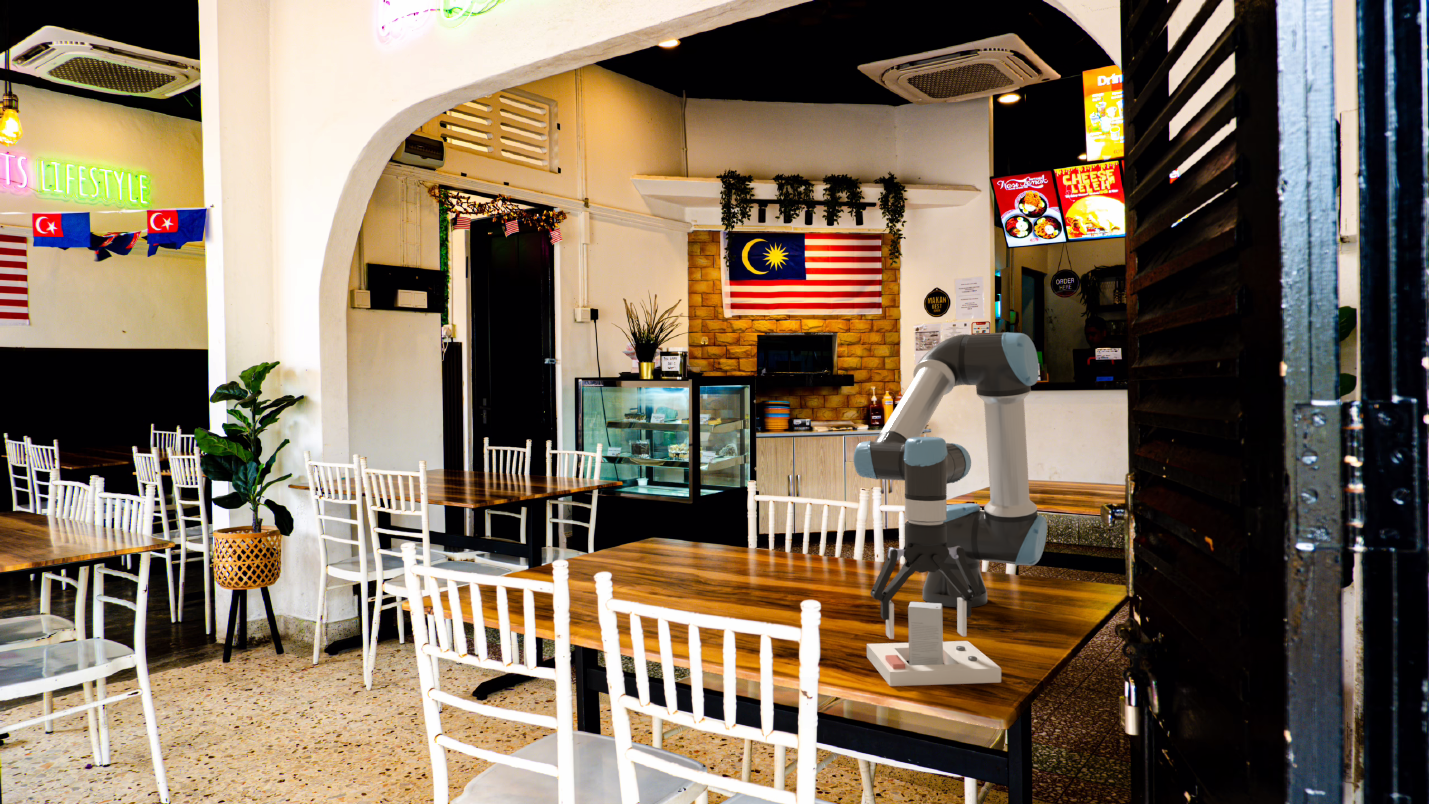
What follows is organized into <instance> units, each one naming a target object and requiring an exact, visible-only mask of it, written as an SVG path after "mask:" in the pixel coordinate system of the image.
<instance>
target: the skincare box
mask: <svg viewBox="0 0 1429 804" xmlns="http://www.w3.org/2000/svg"><path fill="white" fill-rule="evenodd" d="M907 614H908V615H907V618H908V643H909V661H908V664H909V665H940V664H944V663H943V642H944V639H943V638H944V637H943V636H944V635H943V634H944V633H943V632H944V631H943V626H944V625H943V606H942V604H941V603H929V602H926V601H925V602H920V601H909V605H908V607H907Z"/></svg>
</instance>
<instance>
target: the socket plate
mask: <svg viewBox="0 0 1429 804" xmlns="http://www.w3.org/2000/svg"><path fill="white" fill-rule="evenodd" d="M866 658H867V660H869V662H870V663H871V665H873V667H874V668H875V669H876V670H877V671H878V673H879V674H880V676H881V677H882V678H883V679H884V680H885V682H886V683H887V685H888V686H890V687H900V686H901V687H904V686H906V687H907V686H908V687H909V686H931V685H932V686H933V685H961V684H962V685H964V684H992V683H998V684H999V683H1002V668H1001V667H1000V666H999V665H998V664H997V663H996V662H994V661H993V660H992V659H991V658H989V657H988V656H986V654H984V653H983V652H982V651H980V649H978V648H977V647H976V646H974V645H973V644H972V643H971V642H969V641H968V640H955V641H943V664H940V665H909V642H890V643H889V642H887V643H886V642H885V643H883V642H882V643H866ZM907 661H908V662H907Z"/></svg>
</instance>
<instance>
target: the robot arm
mask: <svg viewBox="0 0 1429 804" xmlns="http://www.w3.org/2000/svg"><path fill="white" fill-rule="evenodd" d="M1038 358H1039V357H1038V353H1037V349H1036V347H1035V344H1034V342H1033V341H1032V339H1031V338H1030V336H1029V335H1027V334H1025V333H1023V332H1022V333H1021V332H1009V331H1007V332H991V333H976V334H975V333H973V334H969V333H968V334H966V333H965V334H958V335H953V336H952V337H949V338H946V339H944V340H943V341H942V340H941V341H940V342H939V343H938V344H935V345H934V346H933V347H932V348H930V350H928V351H927V352H926V353H925V354H924V355H923V356H922V357H921V358H920V360H919V361H918V362H917V365H916V366H915V368H914V369H913V374H912V375H913V379H912V381H911V382H910V383H909V385H908V387H907V389H906V390H905V392H904V394H903V396H902V397H901V398H900V400H899V401H898V403H897V405H896V407H895V408H894V409H893V412H891V414H890V416H889V418H888V419H887V421H886V422H885V424H884V426H883V428H881V431H880V432H879V434H878V435H877V437H876V438H875V440H874V441H871V440H868V441H861V442H859V443H858V444H857V445H856V447H855V450H854V454H853V466H854V468H855V471H856V473H857V475H858V476H860V477H862V478H865V479H874V480H883V481H885V480H887V481H904V518H905V519H906V520H907V521H906V522H905V523H904V547H903V549H901V548H894V547H893V546H889V547H888V548H887V553H886V559H885V561H884V564H883V565H882V567H881V570H880V572H879V574H878V576H877V578H876V580H875V582H874V584H873V586H872V588H871V591H870V594H869V595H870V596H871V597H872V598H873V599H874V600H876V601H879V602H880V617H881V619H882V620H884V621H885V635H886V636H887V637H888V638H889V640H895V604H894V602H893V601H892V599H893V597H895V595H896V594H897V593H898V592H899V591H900V590H901V588H902V587H903V586H904V584H905V583H906V582H907V581H908V579H909V578H910V577H911V576H913V575H914V573H916V572H917V573H920V574H921V573H927V572H928V573H927V575H926V577H925V578H926V579H925V580H924V581H925V582H924V585H923V587H922V599H923V600H924V601H925V602H926V603H941V604H942V607H948V608H949V607H950V608H956V611H957V613H956V614H957V615H956V618H957V619H956V621H957V622H956V623H957V625H956V626H957V627H956V628H957V630H956V632H957V633H958V634H959V635H960V636H961V637H967V636H968V635H967V634H968V633H967V626H968V625H967V622H968V621H967V618H970V617H971V616H972V608H975V607H981V606H984V605H986V604H987V603H988V591H987V587H986V585H985V582H984V578H983V576H982V572H981V568H980V567H981V566H980V564H981V561H984V562H994V563H999V564H1000V563H1002V564H1009V565H1015V566H1034V565H1036V564H1037V563H1038V562H1039V561H1040V559H1041V558H1042V555H1043V552H1044V549H1045V545H1046V540H1047V533H1048V521H1047V518H1046V517H1045V516H1044V515H1042V514H1038V506H1037V504H1035V502H1034V501H1032V500H1031V499H1030V483H1029V467H1028V466H1029V465H1028V451H1027V450H1028V449H1027V448H1028V447H1027V432H1026V429H1027V428H1026V427H1027V426H1026V413H1025V410H1026V409H1025V398H1026V397H1027V396H1028V395H1029V394H1030V393H1031V391H1032V389H1031V386H1034V385H1035V384H1037V382H1038V380H1039V369H1040V368H1039V365H1040V364H1039V359H1038ZM958 386H975V387H976V388H975V389H976V390H975V391H976V395H977V397H979V398H980V399H981V400H982V401H983V404H984V405H983V407H984V420H985V421H984V422H985V432H986V433H985V435H986V451H987V464H988V465H987V466H988V482H989V496H990V500H989V501H988V502H987V503H986V504H985V505H984V507H983V510H981V507H980V504H978V503H972V502H971V503H955V504H954V503H953V504H947V503H948V502H947V493H948V492H947V490H948V488H947V485H948V484H953V483H958V482H959V481H961V480H962V479H964V478H965V477H966V476H967V475H968V474H969V472H970V471H971V467H972V459H971V455H970V453H969V451H968V450H967V449H966V448H965V447H963V446H962V445H960V444H958V443H953V442H952V443H950V442H946V440H945V439H944V438H943V437H936V436H922V434H923V432H924V431H925V429H926V427H927V425H928V424H929V422H930V420H931V418H932V417H933V415H934V413H935V411H936V410H937V409H938V406H939V404H940V403H941V401H942V400H943V397H944V396H946V395H948V394H949V393H951V392H952V390H953V389H954V388H955V387H958ZM901 557H903V558H904V559H905V560H906V561H905V562H904V563H903V565H902V566H901V568H900V570H899V571H898V573H896V575H895V576H894V577H893V579H892V580H891V581H890V582H889V580H890V578H891V576H892V574H893V571H894V570H895V567H896V565H897V562H898V561H901ZM888 582H889V583H888ZM887 584H888V585H887Z"/></svg>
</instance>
